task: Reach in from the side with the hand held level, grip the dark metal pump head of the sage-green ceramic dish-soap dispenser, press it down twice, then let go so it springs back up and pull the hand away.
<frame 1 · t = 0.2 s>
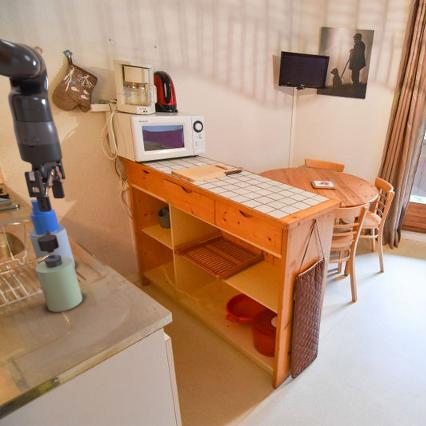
hand: (53, 204, 79), 31 cm above the countertop, tool pointing down, fingers open, 8 cm apart
dispenser: (65, 302, 92), on the countertop
pump head: (49, 243, 85), point 19 cm above the countertop, slide at 0.2 cm
spray bottle: (58, 269, 106), on the countertop
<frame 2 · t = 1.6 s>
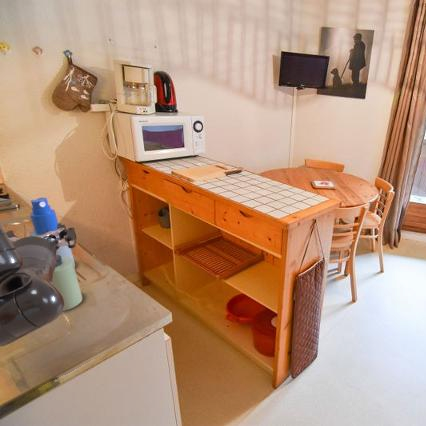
hand: (36, 230, 73), 28 cm above the countertop, tool horizontal, fingers open, 8 cm apart
nothing on the countertop moved.
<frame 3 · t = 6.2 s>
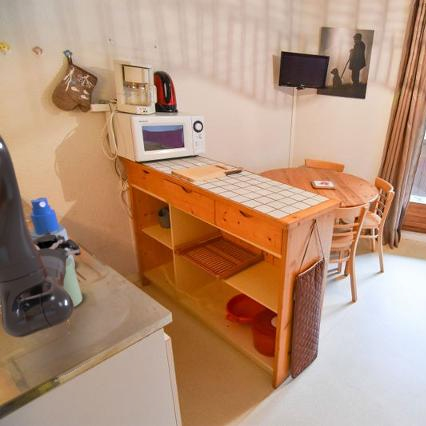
hand: (49, 240, 86), 19 cm above the countertop, tool horizontal, fingers closed on pump head, 4 cm apart
pump head: (49, 243, 85), point 19 cm above the countertop, slide at 0.1 cm, touching gripper
everything else where it was.
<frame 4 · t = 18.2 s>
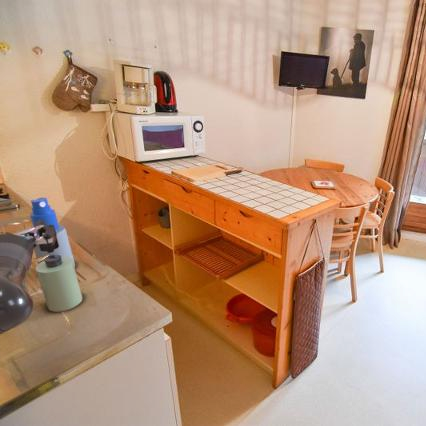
hand: (15, 227, 70), 30 cm above the countertop, tool horizontal, fingers open, 8 cm apart
pump head: (49, 243, 85), point 19 cm above the countertop, slide at 0.2 cm
everything else where it was.
at the end: pump head pushed in 1.8 cm at the most during the clip, back to 0.2 cm at the end; pump head slide at 0.2 cm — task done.
